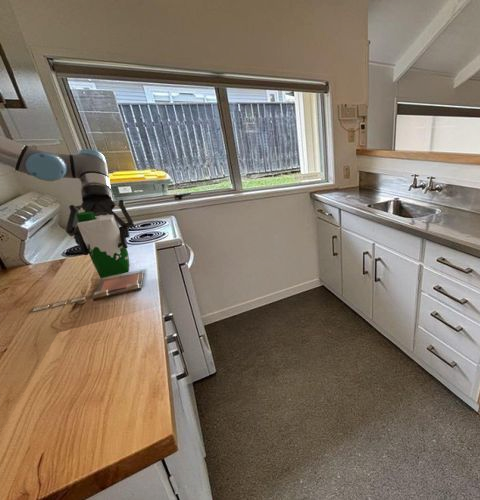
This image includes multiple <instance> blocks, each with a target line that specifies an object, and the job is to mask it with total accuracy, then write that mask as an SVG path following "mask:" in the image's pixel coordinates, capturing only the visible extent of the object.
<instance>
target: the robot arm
mask: <svg viewBox="0 0 480 500" xmlns="http://www.w3.org/2000/svg"><path fill="white" fill-rule="evenodd" d="M0 167H3V168H7V169H10V170H14V171H17V172H19V173H23V174H26V175H28V176H31V177H34V178H36V179H38V180H41V181H44V182H55V181H60V180H61V179H79V185H80V194H81V204H80V205H74V204H70V205H69V206H68V208H69V211H70V212H69V215H68V220H67V224H66V227H65V233H67V235H68V236H69V237H74V241H75V243H76V245H78V246H80V247H79V248H80V252H81V253H82V254H83V255H84V256H88V255H89V252H88V250H87V247H86V245H85V242H84V240H83V237H82V235H81V232H80V230H79V227H78V225H77V223H78V219H77V216H76V214H77V213H82V210H83V211H84V212H90V211H92V212H94V215H95V216H101V215H103V216H105V215H114V217H115V219H116V222H117V224H118V226H119V230H120V235H121V241H122V245H123V247H124V248H127V249H128V242H127V238H130V230H129V229H130V228H135V223H134V221H133V220H132V218H131V216H130V214H129V213H128V210H127V205H126V203H125V200H123V199H119V200H118V201H114V199H113V194H112V193H113V192H112V188H111V187H112V186H111V181H110V176H109V168H108V164H107V160H106V157H105V156H104V154H102V152H100V151H98V150H96V149H92V148H85V149H79V150H78V151H77V152H76V154H66V153H57V152H47V151H44V150H41V149H39V148H35V147H33V146H30V145H27V144H24V143H22V142H19V141H16V140H13V139H10V138H8V137H5V136H2V135H0ZM115 207H117V208H118V209H120V211H121V212H122V214H123V216H124V219H126V221H127V222H125V221H124V220H123V219H122V218H121V217H119V215H118V214H117V213H115V212H114V210H113V209H115Z"/></svg>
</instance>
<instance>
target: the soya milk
mask: <svg viewBox="0 0 480 500" xmlns="http://www.w3.org/2000/svg"><path fill="white" fill-rule="evenodd" d="M76 216H77V219H78V222H77V225H78V227H79V230H80V232H81V235H82V237H83V240H84V242H85V245H86V247H87V250H88V255H89V257H90V259H91V262H92V264H93V266H94V268H95V270H96V272H97V274H98V276H99V277H100V279H103V278H104V279H106V278H110V277H115V276H119V275H122V274H123V275H124V274H126V273H127V274H128V273H129V272H130V265H131V264H130V256H129V251H128V248H124V247H123V245H122V241H121V235H120V230H119V227H120V225H119V224H118V223H117V222H116V219H115V217H114V215H108V214H107V215H100V216H95V215H94V212H92V211H90V212H85V211H83V212H82V211H81V212H80V213H77V214H76Z"/></svg>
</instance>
